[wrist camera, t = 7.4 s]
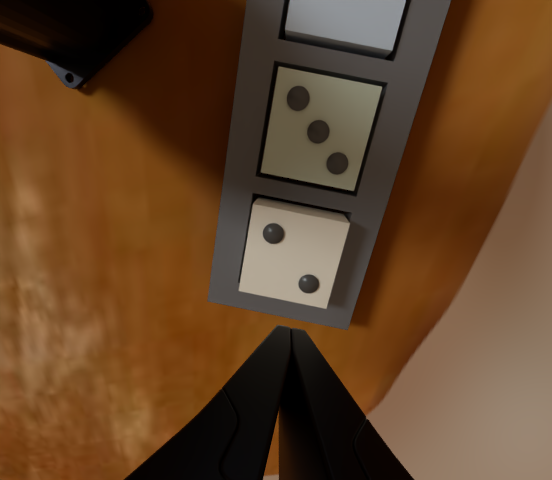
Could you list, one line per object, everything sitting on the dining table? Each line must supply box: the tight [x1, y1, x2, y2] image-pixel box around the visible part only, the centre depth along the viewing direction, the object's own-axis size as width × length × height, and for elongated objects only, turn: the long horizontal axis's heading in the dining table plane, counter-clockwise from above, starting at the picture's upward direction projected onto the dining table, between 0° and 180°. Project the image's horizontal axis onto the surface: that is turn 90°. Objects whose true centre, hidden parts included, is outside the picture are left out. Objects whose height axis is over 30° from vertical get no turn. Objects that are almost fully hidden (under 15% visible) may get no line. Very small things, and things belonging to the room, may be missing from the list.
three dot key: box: [261, 67, 382, 191], centre depth 15 cm, size 5×5×2 cm
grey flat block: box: [208, 0, 451, 330], centre depth 16 cm, size 22×9×2 cm, turn 169°
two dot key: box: [239, 197, 350, 309], centre depth 16 cm, size 5×5×2 cm
